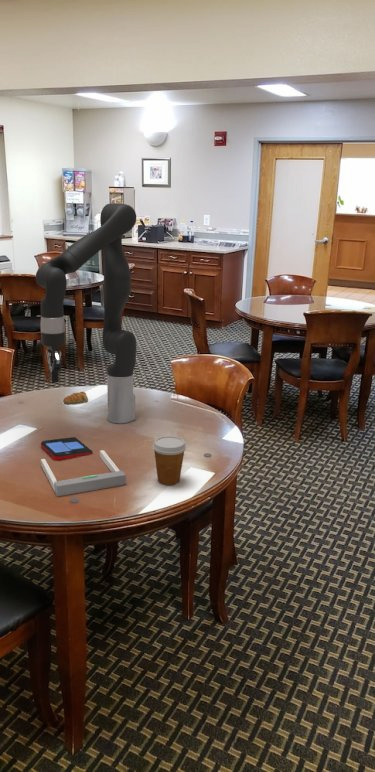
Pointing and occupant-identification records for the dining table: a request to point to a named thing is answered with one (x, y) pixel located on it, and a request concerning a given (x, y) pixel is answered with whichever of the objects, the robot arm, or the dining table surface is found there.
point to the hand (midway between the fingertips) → (54, 382)
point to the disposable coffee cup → (169, 458)
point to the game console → (65, 448)
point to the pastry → (76, 398)
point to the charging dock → (86, 479)
